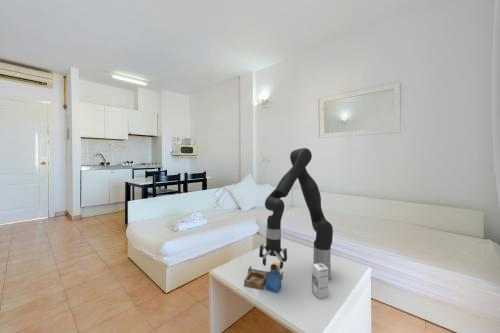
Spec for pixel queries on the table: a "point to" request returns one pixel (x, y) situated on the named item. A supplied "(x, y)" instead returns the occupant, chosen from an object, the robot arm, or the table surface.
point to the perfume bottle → (273, 280)
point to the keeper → (255, 280)
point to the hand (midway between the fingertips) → (272, 266)
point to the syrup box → (320, 280)
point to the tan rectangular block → (277, 267)
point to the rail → (260, 271)
